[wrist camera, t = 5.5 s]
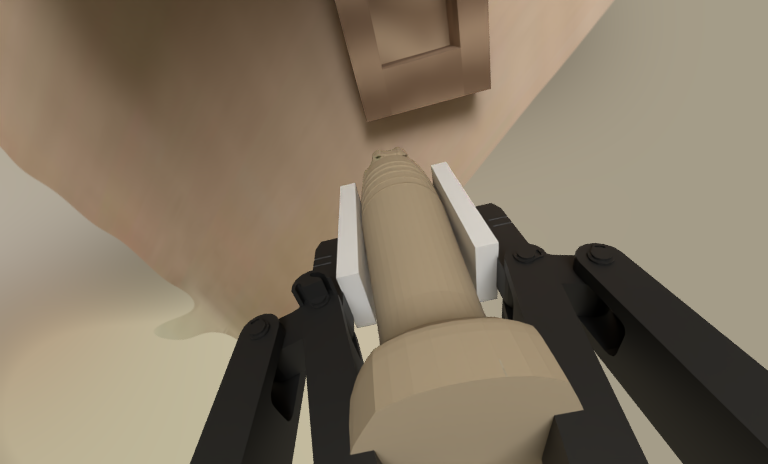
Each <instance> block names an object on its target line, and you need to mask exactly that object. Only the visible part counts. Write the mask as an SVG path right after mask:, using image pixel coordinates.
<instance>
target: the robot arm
mask: <svg viewBox="0 0 768 464" xmlns="http://www.w3.org/2000/svg"><path fill="white" fill-rule="evenodd" d="M431 170H432V178H433V186H434V188H435V190H436V192H437V194H438V196H439V198H440V200H441V202H442V204H443V206H444V208H445V211H446V213H447V216H448V219H449V222H450V224H451V227H452V230H453V232H454V235H455V238H456V241H457V243H458V246H459V249H460V251H461V254H462V257H463V259H464V262H465V265H466V267H467V270H468V272H469V275H470V278H471V280H472V283H473V285H474V288H475V290H476V293H477V296H478V298H479V301H480V302H484V301H488V300H493V299H497V290H499V292H500V294H501V296H502V298H503V304H502V319H508V320H514V321H519V322H522V323H525V324H529V325H532V326H533V327H534V328H535V329H536V330H537V331H538V333H539V334H540V335H541V337H542V338H543V340H544V341H545V343H546V345H547V346H548V348H549V349H550V351H551V353H552V354H553V356H554V357H555V359H556V361H557V362H558V364H559V366H560V367H561V369H562V371H563V372H564V374H565V376H566V377H567V379H568V381H569V383H570V384H571V386H572V388H573V390H574V392H575V393H576V395H577V397H578V399H579V401H580V403H581V405H582V407H583V409H584V410H580V411H575V412H569V413H564V414H558V415H554V418H553V421H552V425H551V428H550V431H549V435H548V438H547V442H546V445H545V449H544V452H543V455H542V463H543V464H648V462H647V460H646V457H645V456H644V453H643V451H642V449H641V447H640V445H639V443H638V441H637V439H636V437H635V435H634V433H633V431H632V429H631V426H630V425H629V422H628V420H627V418H626V416H625V414H624V412H623V410H622V408H621V406H620V404H619V402H618V400H617V397H616V395H615V394H614V391H613V389H612V387H611V385H610V383H609V381H608V379H607V377H606V375H605V373H604V371H603V369H602V366H601V365H600V362H599V360H598V358H597V356H596V354H597V355H598V356H599V357H600V359H601V360H602V361H603V362H604V363H605V365H606V366H607V368H608V369H609V370H610V371H611V373H612V374H613V375H614V376H615V378H616V379H617V380H618V382H619V383H620V384H621V385H622V387H623V388H624V389H625V390H626V392H627V393H628V394H629V396H630V397H631V398H632V399H633V401H634V402H635V403H636V404H637V406H638V407H639V408H640V410H641V411H642V412H643V413H644V415H645V416H646V417H647V418H648V420H649V421H650V422H651V424H652V425H653V426H654V427H655V429H656V430H657V431H658V432H659V434H660V435H661V436H662V437H663V439H664V440H665V441H666V442H667V444H668V445H669V446H670V448H671V449H672V450H673V452H674V453H675V454H676V455H677V457H678V458H679V459H680V460H681V462H682V463H683V464H768V370H766V369H765V368H764V367H763V366H761V365H760V364H759V363H757V361H755V360H754V359H753V358H752V357H750V356H749V355H748V354H747V353H745V352H744V351H743V350H742V349H740V348H739V347H738V346H737V345H736V344H734V343H733V342H732V341H731V340H729V339H728V338H727V337H726V336H724V335H723V334H722V333H721V332H719V331H718V330H717V329H716V328H715V327H713V326H712V325H711V324H710V323H708V322H707V321H706V320H705V319H703V318H702V317H701V316H700V315H699V314H697V313H696V312H695V311H694V310H692V309H691V308H690V307H689V306H687V305H686V304H685V303H684V302H683V301H681V300H680V299H679V298H678V297H676V296H675V295H674V294H673V293H671V292H670V291H669V290H668V289H667V288H665V287H664V286H663V285H661V284H660V283H659V282H658V281H657V280H655V279H654V278H653V277H652V276H650V275H649V274H648V273H647V272H645V271H644V270H643V269H642V268H641V267H639V266H638V265H637V264H635V263H634V262H633V261H632V260H631V259H629V258H628V257H627V256H626V255H625V254H623V253H622V252H621V251H619V250H617V249H616V248H614V247H611V246H608V245H605V244H598V243H592V244H585V245H583V246H580V247H579V248H578V249H577V251H576V253H575V255H550V254H547V253H546V252H545V251H544V250H543V249H542V248H540V247H538V246H536V245H532V244H529V243H528V242H527V241H526V240H525V238H524V237H523V236H522V235H521V233H520V232H519V231H518V229H517V228H516V227H515V226H514V224H513V223H511V220H510V219H509V218H508V217H507V215H506V214H505V213H504V211H503V210H502V209H501V208H500V207H498V206H496V205H494V204H492V203H489V204H485V205H481V206H476V207H475V206H474V204H473V202H472V201H471V200H470V198H469V196H468V195H467V193H466V192H465V190H464V189H463V187H462V186H461V184H460V183H459V181H458V180H457V178H456V176H455V175H454V173H453V172H452V170H451V169H450V167H449V166H448V164H447V163H446V162H443V163H439V164H435V165H431ZM314 259H315V260H314V265H313V266H314V267H313V271H309V272H307V273H305V274H303V275H301V276H300V277H299V278H298V279H297V280H296V281H295V282H294V284H293V286H292V293H293V295H294V297H295V298H296V300H297V302H298V304H299V305H300V308H298V309H297V310H295V311H294V312H292V313H290V314H288V315H286V316H284V317H282V318H280V319H278V318H277V316H275V315H273V314H263V315H260V316H257V317H255V318H254V319H252V320H251V321H249V322H248V323H247V324H246V325H245V326H244V328H243V330H242V331H241V333H240V335H239V338H238V341H237V343H236V346H235V348H234V351H233V354H232V356H231V359H230V361H229V364H228V367H227V369H226V372H225V374H224V377H223V380H222V382H221V385H220V387H219V390H218V392H217V395H216V398H215V401H214V403H213V406H212V408H211V411H210V413H209V416H208V418H207V421H206V424H205V426H204V429H203V431H202V434H201V437H200V439H199V442H198V444H197V447H196V449H195V452H194V455H193V457H192V460H191V462H190V464H292V459H293V453H294V447H295V441H296V435H297V429H298V423H299V416H300V410H301V404H302V398H303V391H304V385H305V379H306V377H307V389H308V400H309V413H310V424H311V437H312V447H313V460H314V464H382V463H381V461H380V459H379V458H378V456H377V454H376V453H375V451H374V450H372V451H367V452H362V453H357V454H352V455H350V433H349V414H350V398H351V394H352V391H353V388H354V384H355V381H356V378H357V376H358V373H359V371H360V369H361V367H362V366H363V364H364V362H363V359H362V355H361V351H360V347H359V343H358V339H357V337H356V334H355V332H354V322H355V324H356V327H357V328H359V327H364V326H369V325H374V324H376V313H375V306H374V299H373V293H372V286H371V280H370V274H369V268H368V262H367V256H366V249H365V243H364V237H363V230H362V215H361V201H360V198H359V194H358V191H357V187H356V184H355V183H352V184H348V185H344V186H340V207H339V227H338V238H336V239H332V240H327V241H323V242H321V243H320V244H319V246H318V247H317V249H316V251H315V258H314ZM594 351H595V352H596V354H595V352H594Z"/></svg>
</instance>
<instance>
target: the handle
mask: <svg viewBox="0 0 768 464" xmlns="http://www.w3.org/2000/svg"><path fill="white" fill-rule="evenodd" d="M361 215H362V230H363V237H364V243H365V249H366V256H367V262H368V268H369V274H370V280H371V286H372V293H373V299H374V306H375V313H376V319H377V326H378V332H379V338H380V339H379V340H380V346H378V347H377V348H375V349H374V350H373V351H372V352H371V354H370V355H369V357H368V358H367V359H366V361H365V363H364V364H363V366H362V367H361V369H360V371H359V373H358V376H357V378H356V381H355V384H354V388H353V391H352V394H351V398H350V414H349V433H350V455H352V454H357V453H362V452H367V451H372V450H374V451H375V453H376V454H377V456H378V458H379V459H380V461H381V463H382V464H543V463H542V455H543V452H544V449H545V445H546V442H547V438H548V435H549V431H550V428H551V425H552V421H553V418H554V415H558V414H564V413H569V412H575V411H580V410H584V409H583V407H582V405H581V403H580V401H579V399H578V397H577V395H576V393H575V392H574V390H573V388H572V386H571V384H570V383H569V381H568V379H567V377H566V376H565V374H564V372H563V371H562V369H561V367H560V366H559V364H558V362H557V361H556V359H555V357H554V356H553V354H552V353H551V351H550V349H549V348H548V346H547V345H546V343H545V341H544V340H543V338H542V337H541V335H540V334H539V333H538V331H537V330H536V329H535V328H534V327H533V326H532V325H529V324H525V323H522V322H519V321H514V320H508V319H502V318H497V317H486V315H485V314H484V311H483V309H482V306H481V303H480V301H479V298H478V296H477V293H476V290H475V288H474V285H473V283H472V280H471V278H470V275H469V272H468V270H467V267H466V265H465V262H464V259H463V257H462V254H461V251H460V249H459V246H458V243H457V241H456V238H455V235H454V232H453V230H452V227H451V224H450V222H449V219H448V216H447V213H446V211H445V208H444V206H443V204H442V202H441V200H440V198H439V196H438V194H437V192H436V190H435V188H434V186H433V185H432V183H431V182H430V180H429V178H428V177H427V175H426V174H425V173H424V171H423V170H422V169H421V168H420V167H419V166H418V165H417V164H416V163H415V162H414V161H413V160H411V159H410V158H409V157H408V155H407V153H406V152H405V150H404V149H402V148H399V147H396V148H395V149H393V150H389V151H381V150H377V151H376V152H374V153H373V156H372V162H371V165H370V166H369V168H368V169H367V170H365V172H364V176H363V187H362V199H361Z"/></svg>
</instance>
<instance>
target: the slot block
mask: <svg viewBox="0 0 768 464" xmlns="http://www.w3.org/2000/svg"><path fill="white" fill-rule="evenodd" d="M335 4H336V7H337V11H338V15H339V19H340V22H341V26H342V30H343V34H344V38H345V41H346V45H347V49H348V53H349V56H350V60H351V64H352V68H353V71H354V75H355V79H356V83H357V86H358V90H359V94H360V98H361V101H362V105H363V109H364V113H365V116H366V120H367V122H370V121H374V120H377V119H381V118H385V117H388V116H392V115H396V114H399V113H403V112H407V111H410V110H414V109H418V108H421V107H425V106H429V105H432V104H436V103H440V102H443V101H447V100H451V99H454V98H458V97H462V96H465V95H469V94H473V93H476V92H480V91H484V90H487V89H491V78H490V46H489V13H488V0H335Z"/></svg>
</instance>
